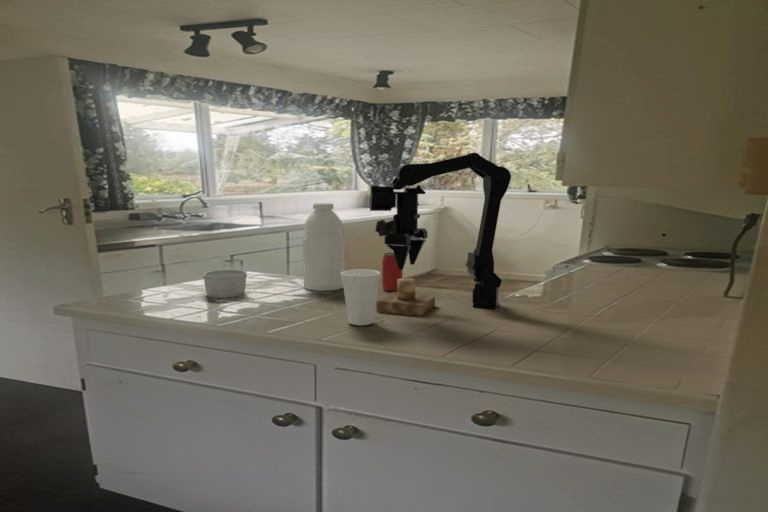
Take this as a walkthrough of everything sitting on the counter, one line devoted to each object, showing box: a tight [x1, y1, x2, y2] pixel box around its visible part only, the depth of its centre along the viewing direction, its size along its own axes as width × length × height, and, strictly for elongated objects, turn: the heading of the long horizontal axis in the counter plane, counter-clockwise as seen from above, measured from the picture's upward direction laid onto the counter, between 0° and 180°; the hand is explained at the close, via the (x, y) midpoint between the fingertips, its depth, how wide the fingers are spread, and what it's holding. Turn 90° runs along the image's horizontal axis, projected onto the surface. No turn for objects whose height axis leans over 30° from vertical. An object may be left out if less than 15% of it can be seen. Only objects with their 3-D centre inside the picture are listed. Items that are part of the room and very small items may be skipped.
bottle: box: [302, 202, 346, 292], centre depth 176 cm, size 14×14×28 cm
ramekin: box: [202, 269, 248, 299], centre depth 166 cm, size 13×13×7 cm
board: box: [376, 291, 436, 317], centre depth 148 cm, size 13×12×3 cm
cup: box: [341, 268, 382, 326], centre depth 133 cm, size 10×10×13 cm
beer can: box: [381, 252, 404, 293], centre depth 173 cm, size 7×7×12 cm
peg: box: [396, 277, 416, 300], centre depth 148 cm, size 5×5×8 cm
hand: (406, 267), depth 147 cm, fingers open, 9 cm apart
